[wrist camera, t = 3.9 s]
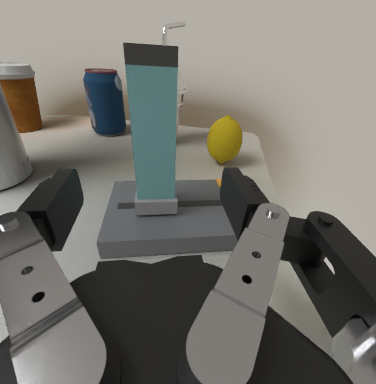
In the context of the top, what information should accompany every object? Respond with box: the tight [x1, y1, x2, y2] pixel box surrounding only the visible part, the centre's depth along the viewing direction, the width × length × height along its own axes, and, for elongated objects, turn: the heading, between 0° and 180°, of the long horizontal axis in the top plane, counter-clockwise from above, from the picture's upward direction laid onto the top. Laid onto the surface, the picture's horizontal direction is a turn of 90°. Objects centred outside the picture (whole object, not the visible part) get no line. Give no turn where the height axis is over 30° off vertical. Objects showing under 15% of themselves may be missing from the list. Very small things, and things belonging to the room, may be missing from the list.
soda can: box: [83, 69, 126, 136], centre depth 44 cm, size 7×7×12 cm
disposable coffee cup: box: [0, 62, 42, 133], centre depth 43 cm, size 10×10×12 cm
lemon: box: [207, 115, 242, 164], centre depth 35 cm, size 6×6×8 cm
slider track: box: [97, 179, 238, 258], centre depth 24 cm, size 15×10×2 cm, turn 97°
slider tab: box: [123, 43, 178, 215], centre depth 19 cm, size 4×4×14 cm
